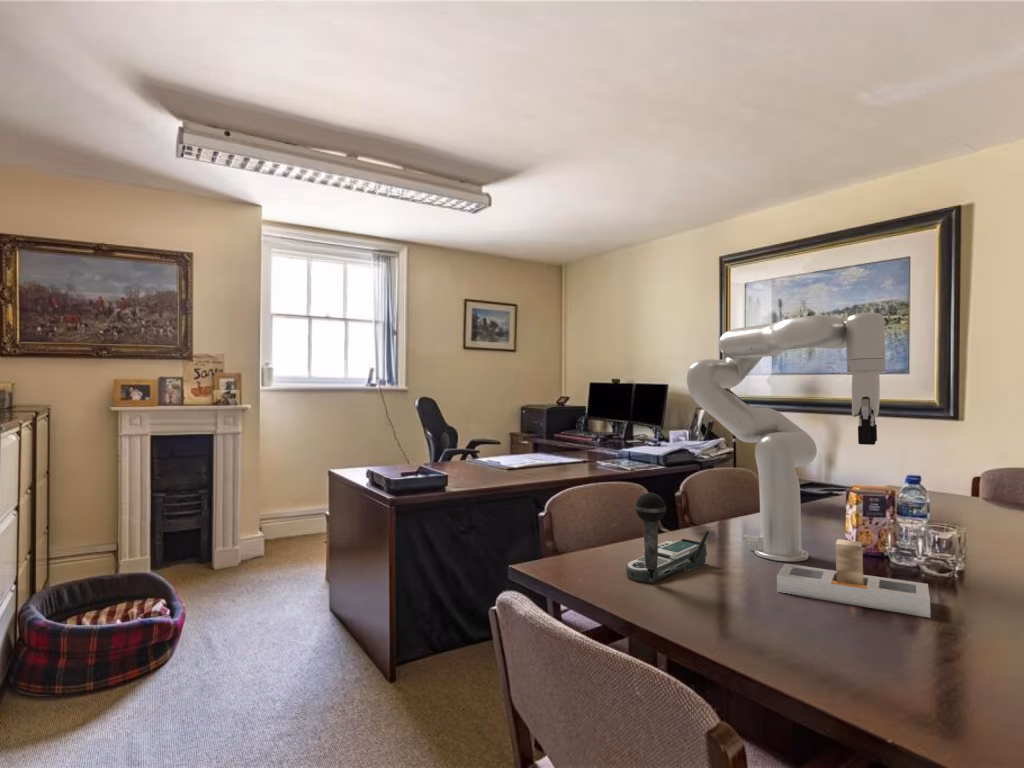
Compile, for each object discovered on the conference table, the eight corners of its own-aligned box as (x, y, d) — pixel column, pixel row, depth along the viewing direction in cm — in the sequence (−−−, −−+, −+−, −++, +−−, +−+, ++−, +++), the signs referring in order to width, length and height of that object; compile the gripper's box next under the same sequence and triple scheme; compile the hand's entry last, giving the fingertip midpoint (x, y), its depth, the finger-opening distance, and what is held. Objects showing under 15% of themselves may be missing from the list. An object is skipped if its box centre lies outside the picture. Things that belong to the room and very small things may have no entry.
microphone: (670, 581, 127) (668, 491, 128) (664, 590, 121) (662, 496, 122) (639, 577, 130) (638, 489, 131) (632, 586, 124) (631, 494, 125)
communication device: (610, 576, 133) (609, 538, 133) (671, 556, 148) (670, 522, 148) (652, 589, 124) (650, 548, 124) (713, 566, 139) (711, 530, 139)
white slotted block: (777, 592, 119) (776, 574, 119) (785, 579, 128) (784, 562, 128) (930, 618, 105) (929, 597, 105) (928, 601, 113) (927, 582, 113)
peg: (837, 598, 116) (835, 543, 116) (838, 591, 119) (837, 539, 119) (862, 602, 113) (860, 546, 113) (863, 595, 117) (862, 541, 117)
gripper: (849, 369, 139) (851, 439, 138) (843, 367, 125) (845, 445, 124) (886, 368, 135) (888, 440, 134) (884, 365, 120) (886, 446, 120)
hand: (867, 442), depth 129 cm, fingers open, 9 cm apart
